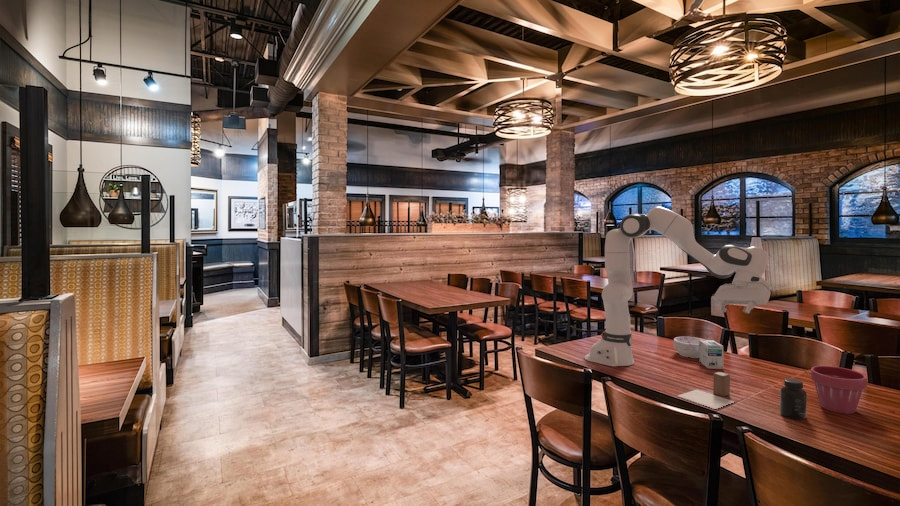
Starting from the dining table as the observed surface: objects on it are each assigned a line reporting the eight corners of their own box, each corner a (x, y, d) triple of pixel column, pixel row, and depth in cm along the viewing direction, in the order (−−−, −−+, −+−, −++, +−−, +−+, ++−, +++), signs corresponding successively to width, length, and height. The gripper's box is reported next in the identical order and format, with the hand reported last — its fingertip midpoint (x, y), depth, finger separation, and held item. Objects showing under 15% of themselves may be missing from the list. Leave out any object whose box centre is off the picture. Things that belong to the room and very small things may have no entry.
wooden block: (712, 393, 160) (712, 372, 160) (719, 391, 162) (719, 371, 161) (723, 397, 157) (723, 376, 156) (730, 395, 158) (730, 374, 158)
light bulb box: (724, 369, 187) (724, 345, 186) (707, 368, 188) (707, 345, 188) (714, 362, 197) (714, 339, 197) (698, 361, 199) (698, 339, 198)
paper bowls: (696, 362, 198) (696, 345, 198) (666, 354, 212) (666, 338, 211) (715, 357, 205) (715, 341, 205) (685, 349, 219) (685, 334, 218)
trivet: (696, 390, 163) (696, 389, 163) (734, 402, 151) (735, 401, 151) (677, 396, 158) (677, 395, 158) (715, 410, 146) (715, 408, 146)
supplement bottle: (774, 412, 143) (774, 377, 142) (793, 410, 143) (793, 376, 143) (792, 421, 136) (793, 384, 135) (812, 419, 137) (812, 383, 136)
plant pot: (852, 420, 135) (853, 381, 135) (801, 404, 148) (802, 369, 148) (874, 412, 141) (875, 374, 140) (824, 397, 154) (824, 363, 153)
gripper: (716, 279, 178) (704, 306, 175) (766, 277, 159) (754, 308, 155) (726, 288, 180) (714, 315, 176) (776, 287, 161) (765, 317, 157)
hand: (733, 312), depth 166 cm, fingers open, 8 cm apart
